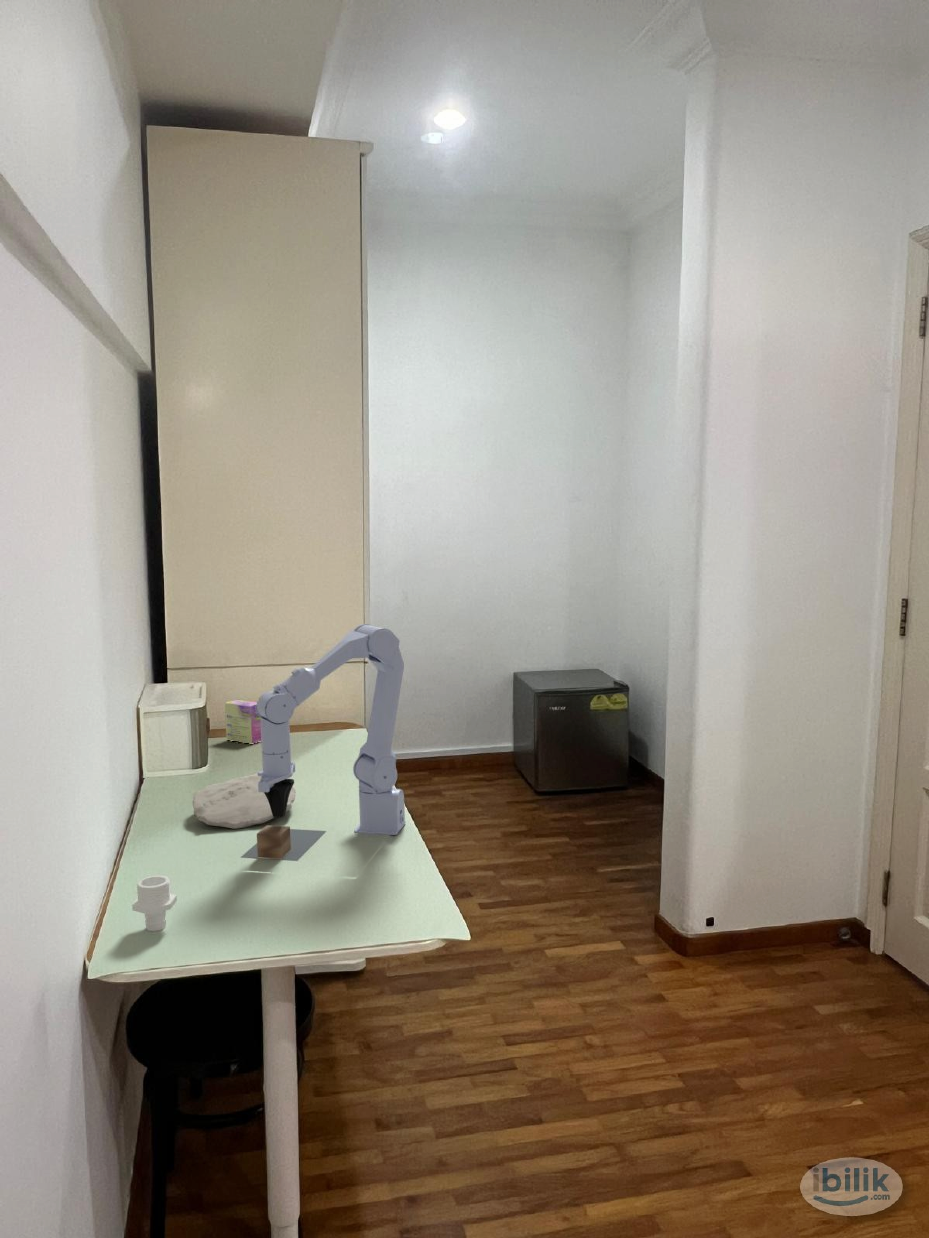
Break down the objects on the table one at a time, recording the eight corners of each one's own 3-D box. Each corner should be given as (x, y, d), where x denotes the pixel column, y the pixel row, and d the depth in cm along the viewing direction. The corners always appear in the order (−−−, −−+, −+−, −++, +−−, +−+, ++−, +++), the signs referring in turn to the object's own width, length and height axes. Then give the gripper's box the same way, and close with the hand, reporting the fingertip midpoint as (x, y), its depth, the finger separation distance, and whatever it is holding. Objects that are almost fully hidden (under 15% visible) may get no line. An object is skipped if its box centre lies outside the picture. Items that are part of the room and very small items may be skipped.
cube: (280, 835, 185) (281, 859, 186) (289, 826, 190) (290, 850, 191) (256, 833, 186) (257, 858, 187) (266, 825, 191) (267, 848, 192)
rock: (304, 786, 234) (291, 838, 204) (210, 790, 232) (183, 843, 203) (303, 757, 232) (289, 805, 203) (208, 761, 231) (180, 809, 201)
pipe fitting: (182, 929, 156) (179, 883, 156) (137, 939, 153) (134, 892, 152) (173, 915, 162) (170, 870, 161) (130, 924, 158) (127, 879, 157)
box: (265, 740, 281) (263, 702, 280) (252, 745, 277) (250, 705, 275) (239, 737, 287) (237, 699, 285) (226, 741, 282) (224, 702, 280)
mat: (326, 832, 202) (326, 830, 202) (297, 861, 185) (297, 860, 185) (274, 829, 204) (273, 828, 204) (240, 858, 187) (240, 857, 187)
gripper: (271, 741, 197) (274, 803, 199) (242, 760, 183) (245, 827, 185) (303, 742, 196) (306, 805, 198) (276, 761, 182) (279, 828, 184)
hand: (279, 816), depth 191 cm, fingers closed
